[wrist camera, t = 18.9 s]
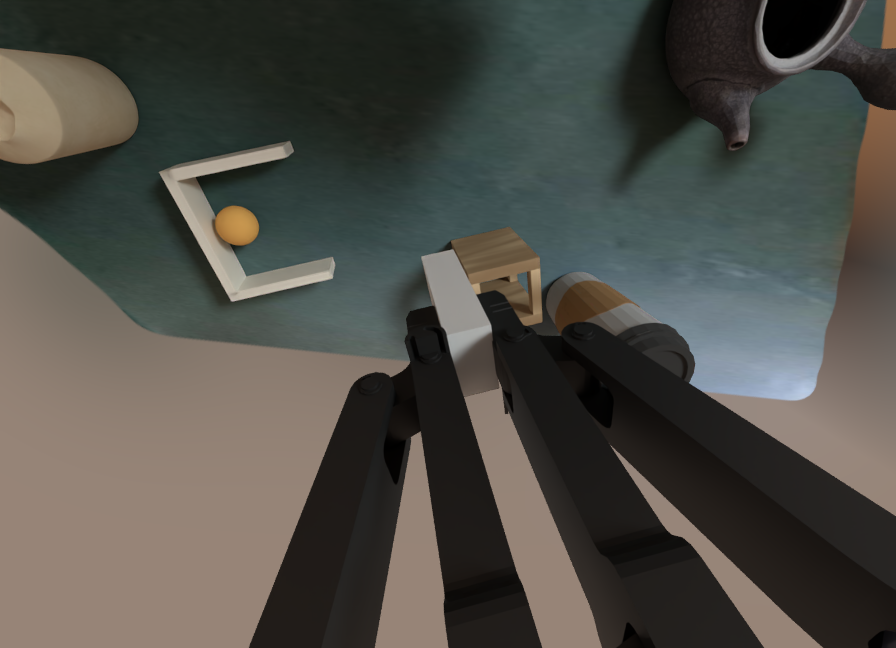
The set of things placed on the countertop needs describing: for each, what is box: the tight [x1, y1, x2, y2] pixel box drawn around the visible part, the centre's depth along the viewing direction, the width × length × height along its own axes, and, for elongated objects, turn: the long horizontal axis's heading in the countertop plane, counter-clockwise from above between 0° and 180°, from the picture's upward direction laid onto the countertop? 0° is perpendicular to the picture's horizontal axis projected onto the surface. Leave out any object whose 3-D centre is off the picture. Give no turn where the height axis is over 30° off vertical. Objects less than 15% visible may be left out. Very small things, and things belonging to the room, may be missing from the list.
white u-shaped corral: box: [159, 141, 335, 302], centre depth 32 cm, size 11×9×3 cm
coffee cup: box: [546, 272, 695, 383], centre depth 37 cm, size 8×8×15 cm
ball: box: [215, 206, 259, 245], centre depth 32 cm, size 3×3×3 cm
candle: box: [0, 48, 139, 164], centre depth 23 cm, size 6×6×10 cm
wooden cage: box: [451, 227, 542, 326], centre depth 36 cm, size 6×6×8 cm
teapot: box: [665, 0, 896, 151], centre depth 29 cm, size 19×15×10 cm
